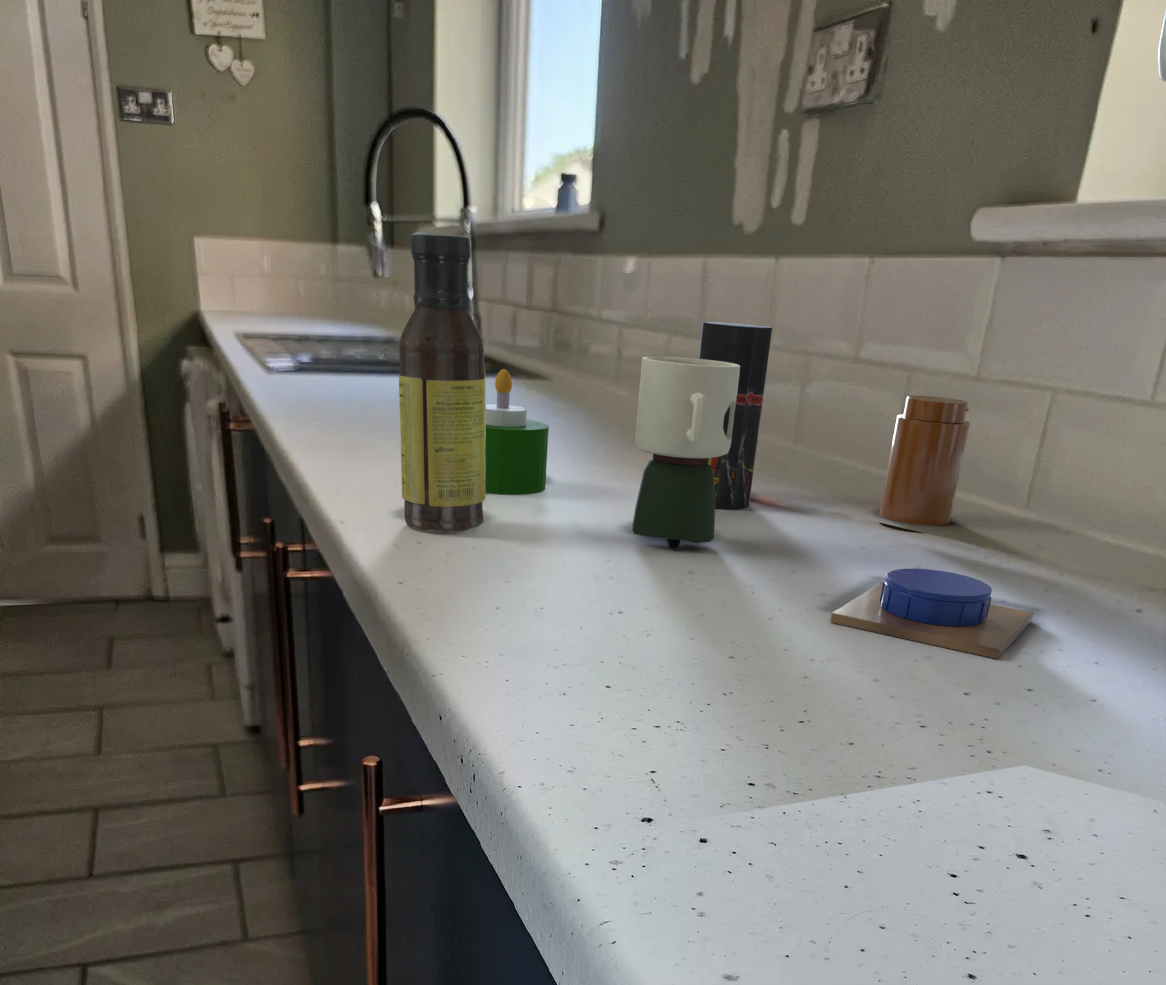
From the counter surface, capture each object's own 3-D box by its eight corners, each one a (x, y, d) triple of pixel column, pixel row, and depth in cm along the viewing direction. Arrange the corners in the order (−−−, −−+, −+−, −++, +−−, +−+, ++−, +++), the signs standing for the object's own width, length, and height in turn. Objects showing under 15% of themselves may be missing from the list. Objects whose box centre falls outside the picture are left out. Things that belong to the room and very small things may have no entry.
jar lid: (870, 593, 71) (876, 565, 70) (968, 601, 71) (974, 572, 70) (893, 622, 65) (899, 591, 64) (998, 630, 65) (1006, 599, 64)
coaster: (1031, 621, 70) (1034, 612, 70) (997, 659, 62) (999, 649, 62) (879, 590, 74) (881, 581, 74) (829, 622, 67) (831, 612, 66)
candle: (553, 496, 97) (560, 376, 93) (460, 493, 95) (463, 371, 91) (535, 478, 104) (541, 366, 100) (448, 475, 102) (450, 362, 98)
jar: (960, 529, 96) (987, 403, 91) (925, 536, 92) (952, 404, 88) (900, 516, 100) (924, 393, 95) (864, 522, 96) (887, 395, 91)
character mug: (733, 561, 79) (758, 371, 74) (636, 557, 78) (654, 364, 73) (702, 528, 89) (722, 357, 83) (616, 523, 88) (630, 351, 82)
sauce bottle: (497, 524, 85) (507, 239, 76) (462, 539, 79) (469, 234, 71) (422, 513, 87) (424, 233, 78) (384, 527, 81) (381, 228, 73)
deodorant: (761, 508, 98) (785, 328, 92) (702, 509, 96) (723, 325, 90) (729, 495, 103) (750, 323, 97) (672, 495, 101) (690, 320, 95)
